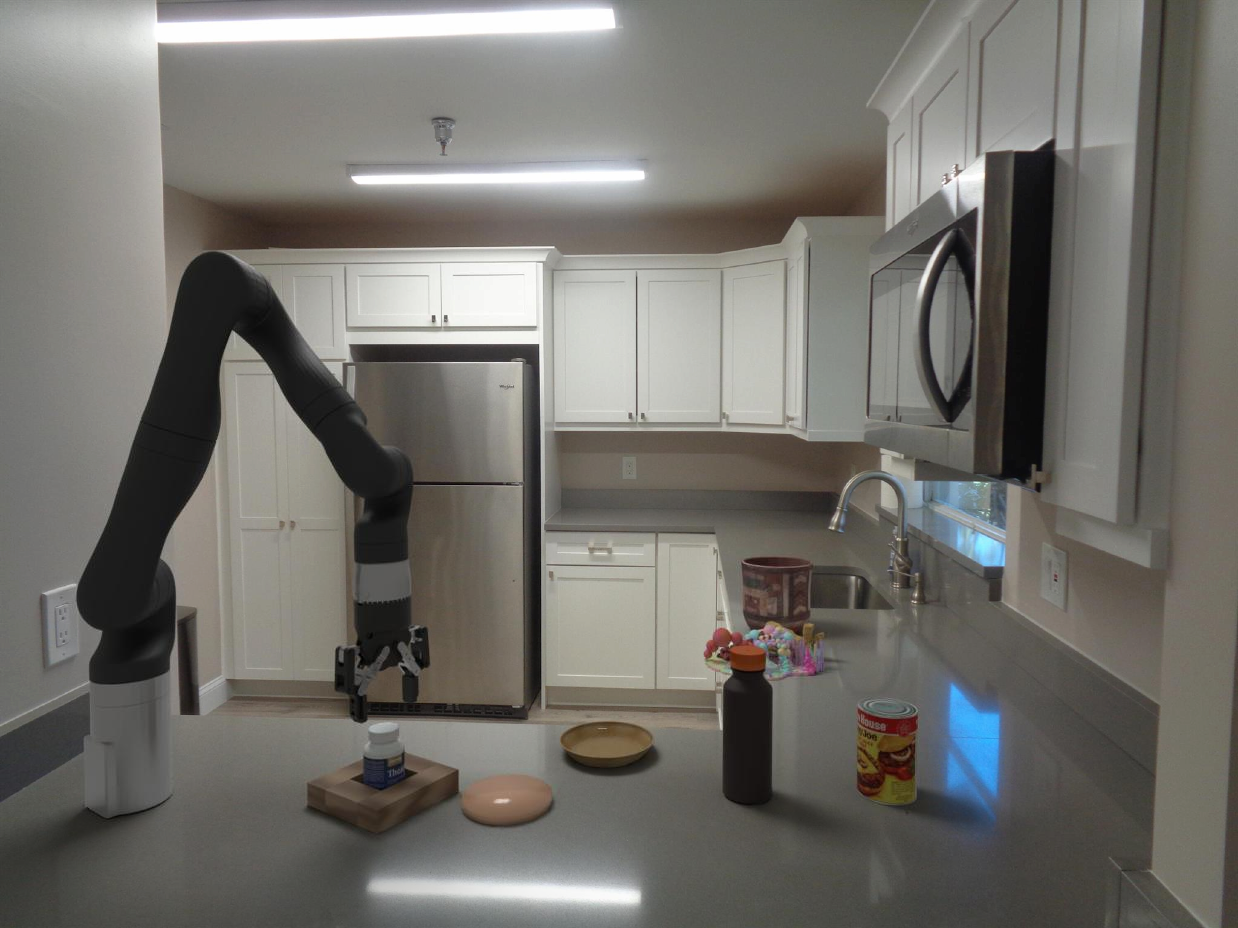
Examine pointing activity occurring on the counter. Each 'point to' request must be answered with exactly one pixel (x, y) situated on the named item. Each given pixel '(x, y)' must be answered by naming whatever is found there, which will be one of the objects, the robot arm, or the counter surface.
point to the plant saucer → (606, 743)
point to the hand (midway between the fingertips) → (385, 711)
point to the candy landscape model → (771, 650)
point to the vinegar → (747, 728)
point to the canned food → (887, 750)
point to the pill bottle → (383, 756)
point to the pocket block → (382, 793)
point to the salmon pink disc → (506, 799)
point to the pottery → (776, 591)
